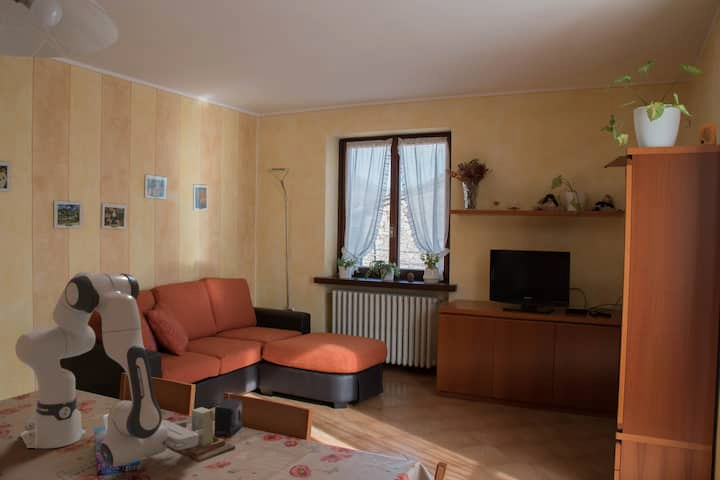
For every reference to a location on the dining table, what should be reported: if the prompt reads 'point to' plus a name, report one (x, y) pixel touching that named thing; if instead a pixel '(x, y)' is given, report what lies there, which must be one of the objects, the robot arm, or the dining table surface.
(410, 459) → the dining table surface
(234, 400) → the small box
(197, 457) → the wooden board with frame
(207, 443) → the skincare box
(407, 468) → the dining table surface
